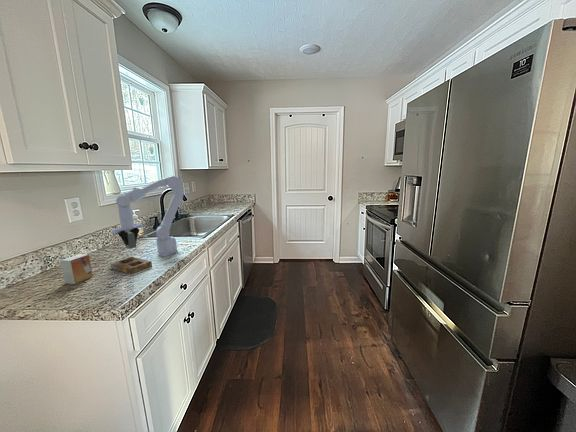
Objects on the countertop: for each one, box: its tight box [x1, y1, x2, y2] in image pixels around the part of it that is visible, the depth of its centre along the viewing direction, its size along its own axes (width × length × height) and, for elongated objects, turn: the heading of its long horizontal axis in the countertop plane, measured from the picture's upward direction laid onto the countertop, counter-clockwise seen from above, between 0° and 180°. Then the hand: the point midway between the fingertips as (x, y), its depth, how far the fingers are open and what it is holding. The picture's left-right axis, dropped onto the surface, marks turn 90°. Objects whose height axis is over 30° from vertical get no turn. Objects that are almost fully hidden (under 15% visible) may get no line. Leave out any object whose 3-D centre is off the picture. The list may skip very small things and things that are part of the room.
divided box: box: [110, 256, 153, 276], centre depth 116 cm, size 10×16×3 cm, turn 62°
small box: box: [59, 253, 94, 285], centre depth 104 cm, size 8×6×10 cm
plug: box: [124, 231, 137, 250], centre depth 127 cm, size 4×4×8 cm
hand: (130, 243), depth 127 cm, fingers closed on plug, 3 cm apart
